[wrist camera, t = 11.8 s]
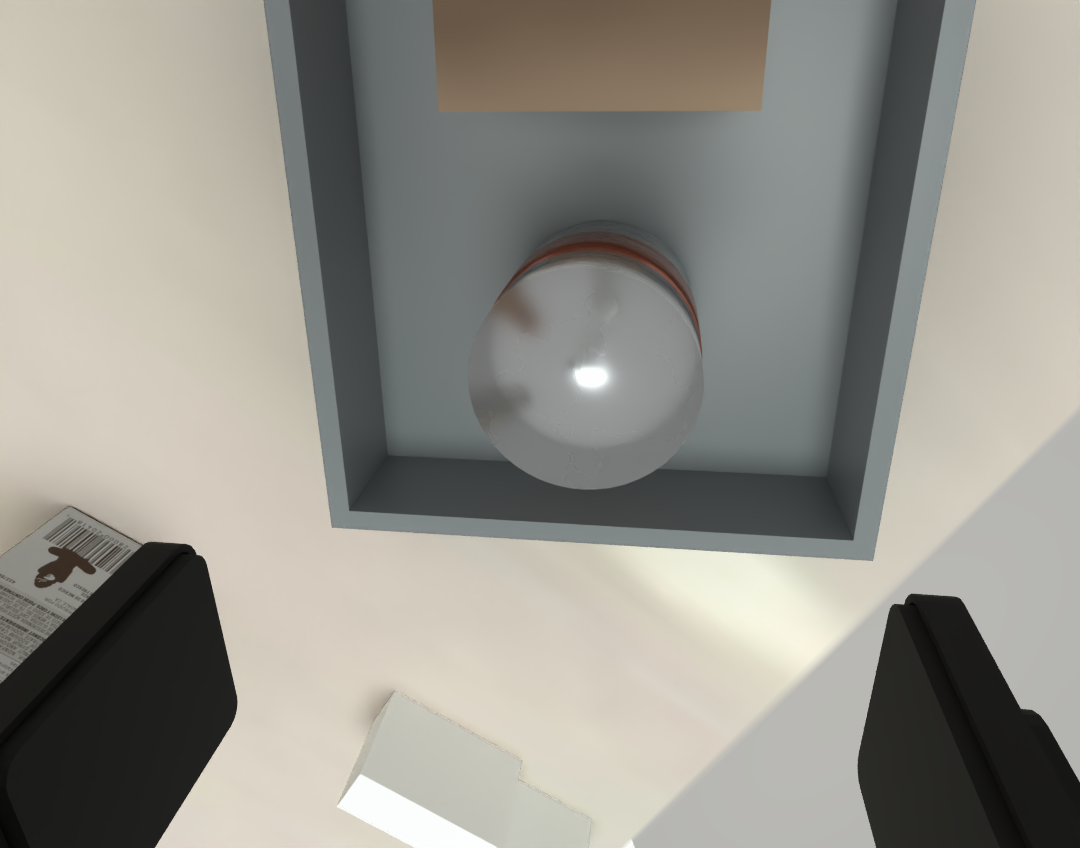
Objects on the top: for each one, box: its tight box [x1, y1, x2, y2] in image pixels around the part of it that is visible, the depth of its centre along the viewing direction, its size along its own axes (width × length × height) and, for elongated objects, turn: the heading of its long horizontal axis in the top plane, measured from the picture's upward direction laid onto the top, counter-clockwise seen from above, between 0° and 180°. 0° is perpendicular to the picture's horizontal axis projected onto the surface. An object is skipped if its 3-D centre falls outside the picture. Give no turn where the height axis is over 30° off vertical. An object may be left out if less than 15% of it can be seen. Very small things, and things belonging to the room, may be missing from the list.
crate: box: [264, 0, 976, 561], centre depth 25 cm, size 22×18×5 cm
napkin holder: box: [337, 690, 635, 848], centre depth 37 cm, size 15×11×6 cm
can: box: [468, 221, 704, 489], centre depth 25 cm, size 6×6×7 cm
